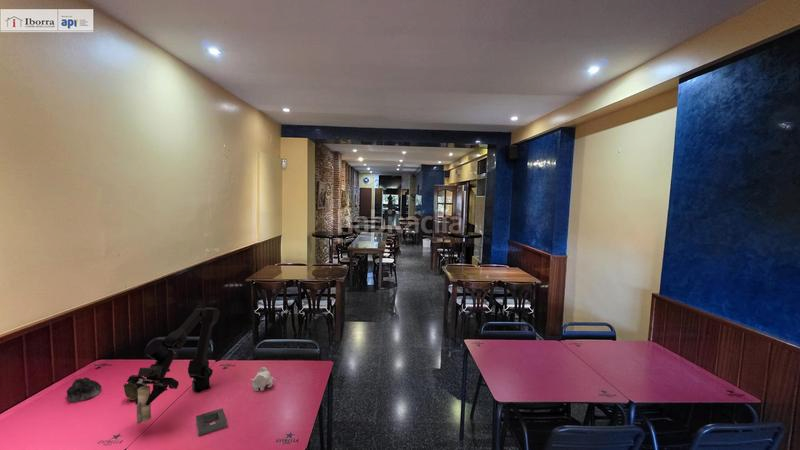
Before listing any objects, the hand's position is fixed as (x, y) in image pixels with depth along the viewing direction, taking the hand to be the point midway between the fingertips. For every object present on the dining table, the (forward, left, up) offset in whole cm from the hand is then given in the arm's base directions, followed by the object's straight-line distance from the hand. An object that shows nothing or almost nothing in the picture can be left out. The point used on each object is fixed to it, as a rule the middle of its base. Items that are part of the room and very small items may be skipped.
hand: (141, 404), depth 136 cm
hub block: (-20, +13, -12) cm, 27 cm away
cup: (-5, -32, -13) cm, 35 cm away
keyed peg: (-1, -1, -7) cm, 7 cm away
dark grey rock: (+9, -54, -13) cm, 56 cm away
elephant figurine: (-49, +3, -13) cm, 51 cm away
